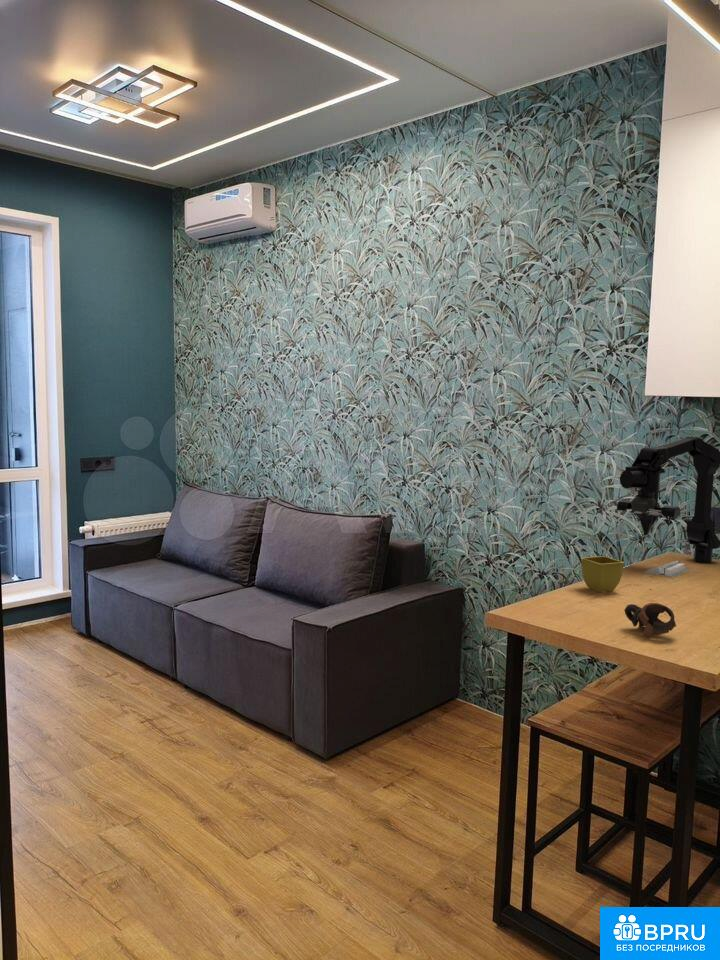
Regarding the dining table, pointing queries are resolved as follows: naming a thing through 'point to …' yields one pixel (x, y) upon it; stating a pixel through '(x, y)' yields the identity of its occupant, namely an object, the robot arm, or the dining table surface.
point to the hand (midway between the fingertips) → (646, 534)
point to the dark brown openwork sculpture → (650, 618)
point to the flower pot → (601, 573)
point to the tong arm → (667, 566)
